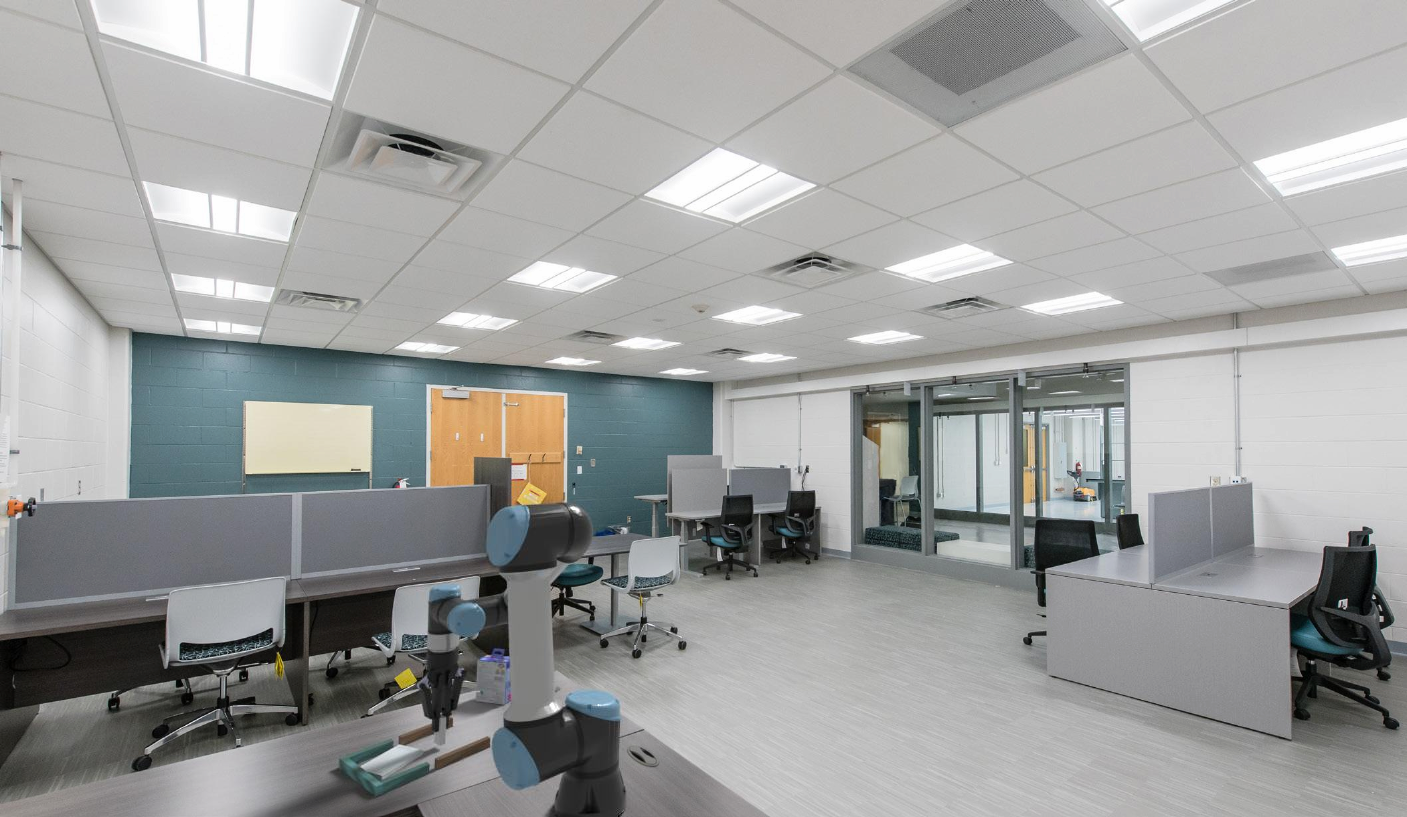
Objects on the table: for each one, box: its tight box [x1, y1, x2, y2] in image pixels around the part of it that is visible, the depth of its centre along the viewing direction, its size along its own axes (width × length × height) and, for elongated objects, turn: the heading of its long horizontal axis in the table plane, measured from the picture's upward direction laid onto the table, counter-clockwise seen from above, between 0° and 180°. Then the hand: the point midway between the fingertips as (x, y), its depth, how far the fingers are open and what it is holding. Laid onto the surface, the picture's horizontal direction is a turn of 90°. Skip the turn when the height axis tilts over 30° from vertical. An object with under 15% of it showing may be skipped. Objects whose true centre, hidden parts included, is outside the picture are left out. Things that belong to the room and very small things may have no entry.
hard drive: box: [359, 744, 424, 781], centre depth 146 cm, size 2×8×12 cm
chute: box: [338, 716, 491, 798], centre depth 149 cm, size 19×28×2 cm
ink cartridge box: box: [475, 648, 511, 705], centre depth 182 cm, size 10×6×14 cm, turn 78°
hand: (439, 742), depth 153 cm, fingers closed
